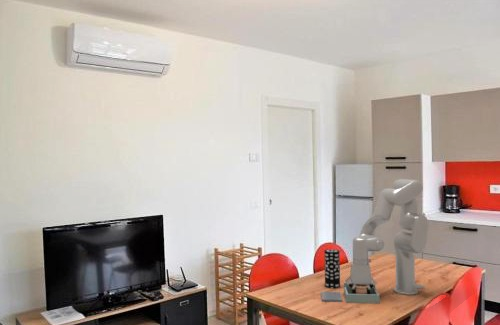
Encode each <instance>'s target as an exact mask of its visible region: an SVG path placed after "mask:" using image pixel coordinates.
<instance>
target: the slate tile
mask: <svg viewBox="0 0 500 325" xmlns="http://www.w3.org/2000/svg"><path fill="white" fill-rule="evenodd" d="M320 296H321V302H328V303H329V302H334V303H342V302H343V298H342V294H341V291H340V292H339V291H320Z"/></svg>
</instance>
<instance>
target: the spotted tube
mask: <svg viewBox="0 0 500 325" xmlns="http://www.w3.org/2000/svg"><path fill="white" fill-rule="evenodd" d="M340 252H341V251H340V250H339V249H335V248H334V249H333V248H332V249H331V248H329V249H324V287H325V288H326V289H331V288H332V290H333V289H340V288H341V273H340V272H341V264H340V263H341V262H340V259H341V257H340Z"/></svg>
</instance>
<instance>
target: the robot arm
mask: <svg viewBox="0 0 500 325" xmlns="http://www.w3.org/2000/svg"><path fill="white" fill-rule="evenodd" d="M392 186H393V188H383V189H382V190H381V192H380V193H379V196H378V200H377V203H376V205H375V209H374V212H373V214H372V215H371V216H370V217H369V218H368V219H367V220H366V222H364V224H363V226H362V227H361V230H360V233H359V236H355V237H353V239H352V263H350V264H351V265H350V274H349V275H350V276H349V277H348V278H346V280H345V281H344V283H347V284H348V285H349V286H350V287H351V288H352V294H356V291H355V286H356V284H363V285H367V286H368V288H367V294H370V290H371V288H372V287H373V286H374V285H375V286H376V285H377V281H376V280H375V279H374V278H373V277H372V270H371V265H370V263H372V260H371V258H369V252H380V251H382V250H383V249H384V247H385V242H384V240H383V239H382V238H381V237H379V236H375V235H374V234H373V233H374V232H375V230H376V229H377V228H378V227H379V226H381V225H383V224H385V223H387V222H389V221H390V220H391V217H392V213H393V210H394V207H395V206H398V207H400V211H399V219H398V225H399V227H400V228H401V229H403V230H407V231H411V233H410V232H406V231H399V232H397V233H396V234H395V235H394V237H393V240H392V241H393V242H392V243H393V247H394V254H395V286H393V287H392V290H393V291H394V292H395V293H396V294H400V295H407V296H410V295H411V296H412V295H417V294H419V289H421V290H424V289H425V288H426V287H425V285H424V284H423V285H422V284H420V283H419V284H417V283H416V273H415V272H416V268H415V261H416V260H415V255H414V254H422V253H424V250H425V249H426V247H427V240H428V235H429V221H428V218H427V216H425V214H421V213H418V209H419V208H418V207H419V202H418V197H419V196H420V195H421V194H422V192H423V189H424V186H423V183H422V182H421V181H419V180H418V179H409V178H399V179H396V180H394V181H393V185H392ZM351 283H352V284H351ZM371 283H372V284H371ZM369 284H370V285H369Z"/></svg>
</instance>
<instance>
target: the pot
mask: <svg viewBox="0 0 500 325" xmlns="http://www.w3.org/2000/svg"><path fill="white" fill-rule="evenodd" d="M367 288H368V286H367V285H363V284H356V286H355V291H356V294H367Z"/></svg>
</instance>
